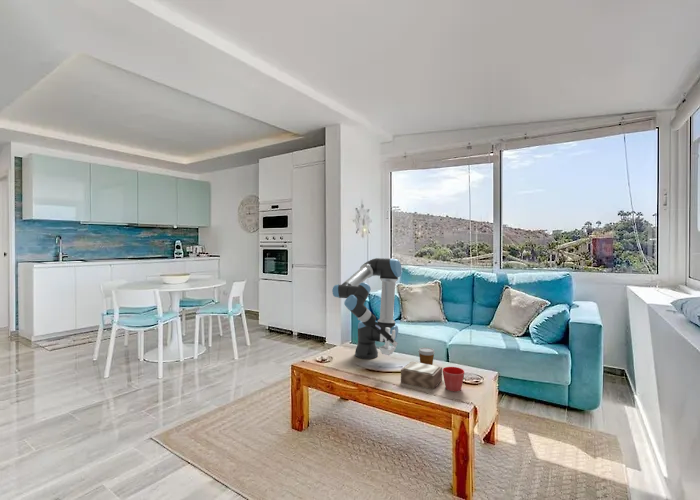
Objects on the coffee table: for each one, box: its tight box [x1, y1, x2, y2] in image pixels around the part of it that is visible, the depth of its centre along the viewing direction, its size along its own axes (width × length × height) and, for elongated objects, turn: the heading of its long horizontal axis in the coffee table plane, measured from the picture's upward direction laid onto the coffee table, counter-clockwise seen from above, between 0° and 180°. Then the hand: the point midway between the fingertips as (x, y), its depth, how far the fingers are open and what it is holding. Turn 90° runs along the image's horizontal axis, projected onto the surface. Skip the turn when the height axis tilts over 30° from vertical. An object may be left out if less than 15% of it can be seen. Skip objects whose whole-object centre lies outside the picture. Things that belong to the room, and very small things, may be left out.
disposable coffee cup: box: [418, 347, 436, 365], centre depth 219 cm, size 10×10×12 cm
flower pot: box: [442, 366, 465, 393], centre depth 191 cm, size 11×11×10 cm
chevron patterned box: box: [400, 361, 443, 390], centre depth 201 cm, size 18×15×8 cm
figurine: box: [378, 327, 397, 356], centre depth 211 cm, size 7×9×15 cm
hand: (392, 343), depth 212 cm, fingers closed on figurine, 8 cm apart
